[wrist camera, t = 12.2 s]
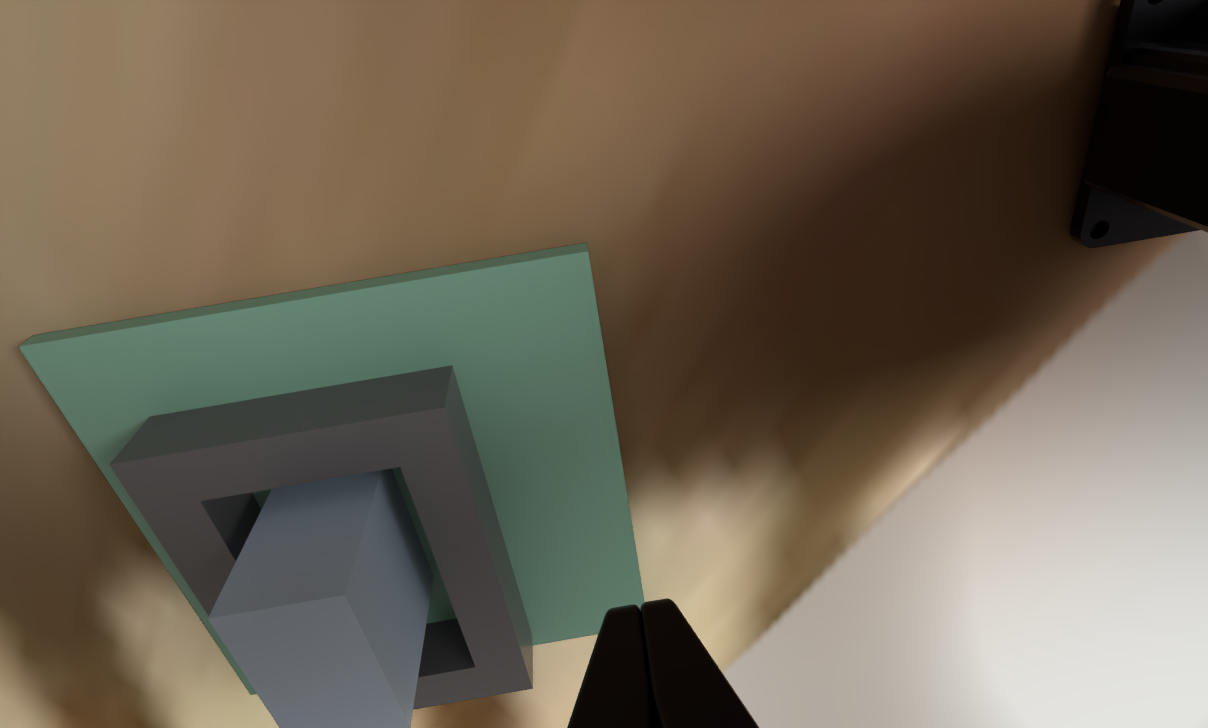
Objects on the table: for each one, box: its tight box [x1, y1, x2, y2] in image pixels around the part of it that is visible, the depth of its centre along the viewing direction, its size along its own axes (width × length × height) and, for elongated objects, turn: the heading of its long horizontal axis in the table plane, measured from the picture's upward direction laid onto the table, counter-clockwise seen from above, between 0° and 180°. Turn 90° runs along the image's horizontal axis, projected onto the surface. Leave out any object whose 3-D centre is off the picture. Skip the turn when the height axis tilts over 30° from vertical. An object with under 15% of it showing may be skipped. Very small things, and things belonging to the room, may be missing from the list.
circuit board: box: [19, 243, 644, 695], centre depth 20 cm, size 14×14×1 cm
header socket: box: [109, 365, 533, 710], centre depth 20 cm, size 8×11×2 cm
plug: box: [208, 468, 433, 728], centre depth 18 cm, size 3×6×5 cm, turn 8°
